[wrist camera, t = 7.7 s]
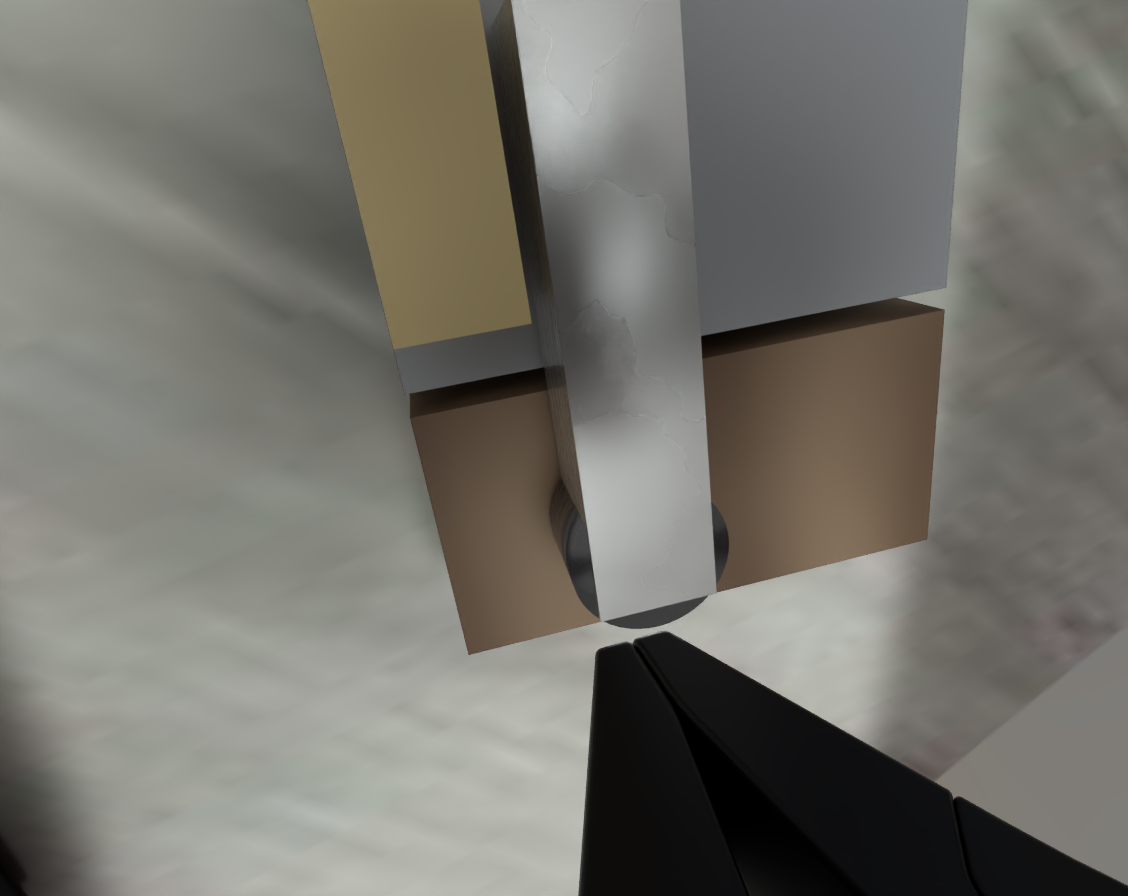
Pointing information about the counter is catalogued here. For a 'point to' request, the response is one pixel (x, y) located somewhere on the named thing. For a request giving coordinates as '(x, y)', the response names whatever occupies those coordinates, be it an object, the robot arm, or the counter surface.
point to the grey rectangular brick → (717, 162)
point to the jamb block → (735, 453)
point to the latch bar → (615, 296)
